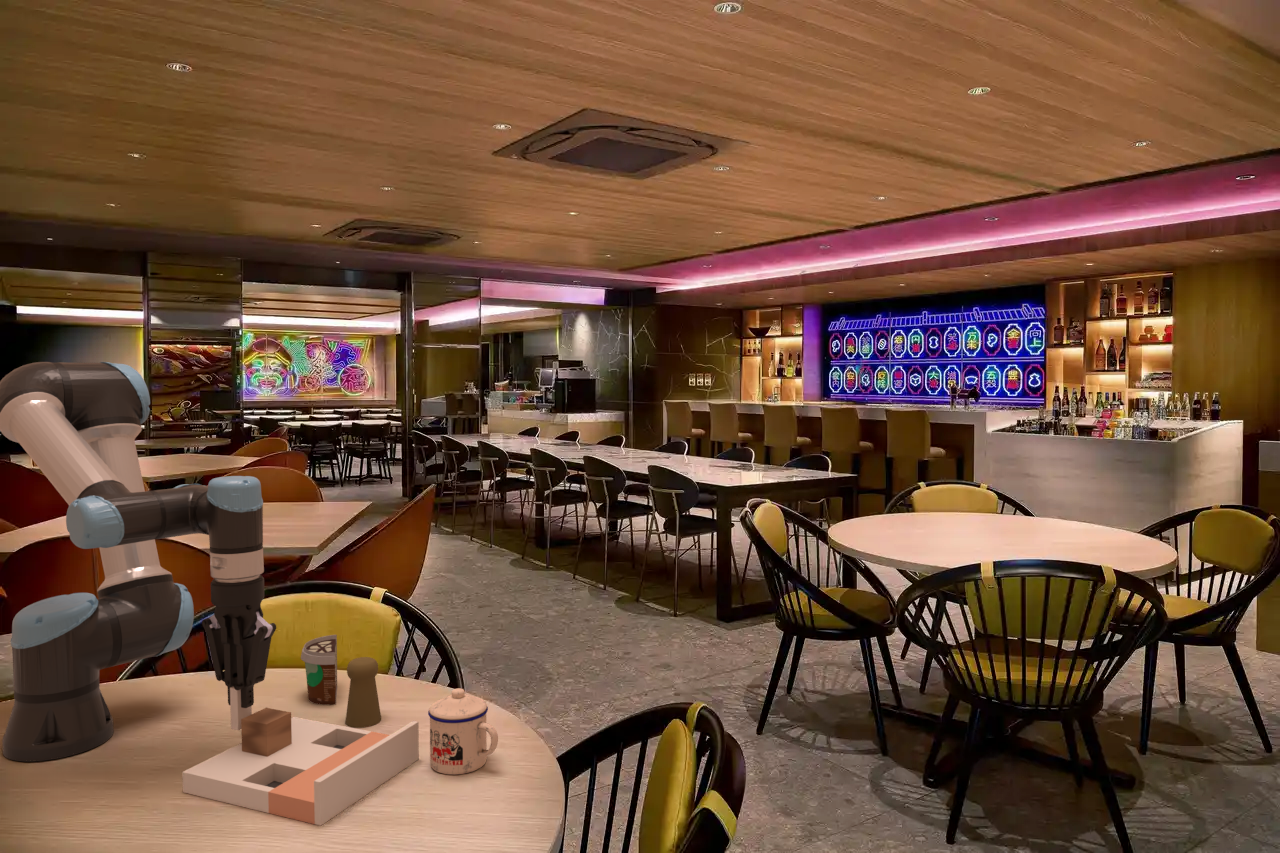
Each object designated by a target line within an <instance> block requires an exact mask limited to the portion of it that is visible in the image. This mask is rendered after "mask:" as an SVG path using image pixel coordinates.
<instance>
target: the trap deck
mask: <svg viewBox="0 0 1280 853" xmlns="http://www.w3.org/2000/svg"><path fill="white" fill-rule="evenodd" d="M419 727H420V726H419V721H416V720H412V721H410V722H409V723H407V724H406V725H403V727H400V728H399V729H398V730H396V731H394V732H393V733H391V734H386V733H381V732H377V731H371V730H365V729H361V728H353V727H349V726H345V725H339V724H335V723H334V724H333V723H328V722H323V721H318V720H314V719H307V718H301V717H297V716H293V717H292V716H291V732H292V744H290V745H288V746H287V747H285V748H283V749H281V750H279V751H277V752H275V753H273V754H272V755H270V756H268V757H266V756H261V755H257V754H252V753H247V752H243V751H242V742H239V743H238V744H236V745H234V746H232V747H230V748H228V749H225V750H224V751H222V752H219V753H218V754H216V755H213V756H212V757H210V758H208V759H206V760H204V761H202V762H200V763H198V764H195V765H193V766H192V767H190V768H187V769H186V770H183V771H181V772H182V774H181V775H182V792H183V793H185V794H189V795H194V796H196V797H197V796H198V797H201V798H206V799H209V800H214V801H218V802H221V803H226V804H229V805H234V806H239V807H244V808H246V809H250V810H254V811H258V812H263V813H268V814H272V815H275V816H279V817H283V818H288V819H291V820H296V821H300V822H303V823H308V824H312V825H316V826H320V827H321V826H323V825H324V824H325V823H327V822H328V821H330V820H332V819H333V818H334V817H335V816H337V815H339V814H340V813H342V812H343V811H345V810H346V809H348V808H349V807H350V806H352V805H353V804H355V803H356V802H358V801H359V800H361V799H362V798H364V797H365V796H366V795H368V794H370V793H371V792H372V791H374V790H375V789H377V788H378V787H380V786H381V785H383V784H384V783H386V782H387V781H389V780H390V779H392V778H393V777H395V776H396V775H397V774H399V773H400V772H402V771H403V770H405V769H407V768H408V767H409V766H411V765H412V764H414V763H415V762H417V761H418V760H419V759H420V751H419V750H420V749H419V748H420V742H419V741H420V740H419V738H420V737H419V733H420V732H419Z"/></svg>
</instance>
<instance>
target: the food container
mask: <svg viewBox="0 0 1280 853" xmlns="http://www.w3.org/2000/svg"><path fill="white" fill-rule="evenodd" d="M337 641H338V639H337V634H330V635H324V636H319V637H316V638H314V639H313V638H312V639H310V640H309V641H307V642H305V644H304V645H303V648H302V650H301V655H300V659H301V660H302V661H303V662H304V664H305V665H304V666H305V667H304V668H305V674H306V675H305V676H306V677H305V678H306V687H307V695H308V696H307V698H308V701H309V702H310V703H312V704H315V705H321V706H322V705H323V706H331V705H332V706H334V705H336V704H337V692H338V642H337Z"/></svg>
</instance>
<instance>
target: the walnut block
mask: <svg viewBox="0 0 1280 853" xmlns="http://www.w3.org/2000/svg"><path fill="white" fill-rule="evenodd" d="M291 718H292V712H291V711H286V710H280V709H274V708H269V707H265V708H264V707H263V708H262V709H260V710H258V711H256V712H253V713H252V714H251V715H249V716H247V717H245V718H243V719H241V729H240V731H241V734H240V735H241V743H242V751H243V752H247V753H252V754H257V755H261V756H266V757H268V756H270V755H272V754H273V753H275V752H277V751H279V750H281V749H283V748H285V747H287V746H288V745H290V744H292V732H291Z"/></svg>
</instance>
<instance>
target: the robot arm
mask: <svg viewBox="0 0 1280 853" xmlns="http://www.w3.org/2000/svg"><path fill="white" fill-rule="evenodd" d="M144 379H145V378H143V376H142V375H141V374H140V372H138V370H136V369H135V368H133V367H132V366H131V365H129V364H126V363H116V362H113V363H112V362H109V361H108V362H107V361H100V362H65V361H64V362H63V361H62V362H51V361H38V362H36V361H35V362H32V363H27V364H23V365H22V366H19V367H17V368H14V369H13V370H12V371H10V372H9V373H7V374H5V375H4V377H2V379H1V380H0V432H1V434H2V435H3V436H4V437H5V438H7V439H8V440H9V441H12V442H15V443H16V444H17V443H18V444H19V445H20V446H21V447H22V449H23V450H24V451H25V452H26V453H27V455H28V456H29V457H30V459H31V460H32V461H33V462H34V463H35V465H36V466H37V467H38V468H39V470H40V471H41V472H42V474H43V475H44V476H45V477H46V479H48V481H49V482H50V484H51V485H52V486H53V487H54V489H55V490H56V491H57V492H58V493H59V495H60V497H62V499H63V500H64V501H65V502H66V503H67V505H68V508H67V509H66V510H67V511H66V515H65V524H66V530H67V532H68V534H69V539H70V541H71V543H72V544H73V545H74V546H76V547H77V548H80V549H83V550H88V549H89V550H90V549H99V553H100V554H99V555H100V558H101V562H102V564H101V565H102V568H103V573H104V581H102V583H101V584H100V586H99V587H98V588H97V590H96V591H97V596H98V598H97V597H96V595H95V594H93V593H90V592H73V593H70V594H61V595H60V594H59V595H55V596H51V597H47V598H44V599H41V600H38V601H36V602H33V603H31V604H29V605H27V606H26V607H23V608H22V609H21V610H19V611H18V612H17V613H16V614H15V616H14V617H13V620H12V624H11V638H10V646H11V651H12V652H11V653H12V673H13V674H12V675H13V676H12V677H13V698H14V699H13V700H14V702H13V707H12V710H11V713H10V716H9V719H8V723H7V726H6V727H5V728H6V729H5V733H4V734H3V736H2V754H3V756H4V757H5V758H6V759H8V760H12V761H17V762H41V761H42V762H43V761H51V760H57V759H62V758H66V757H70V756H76V755H78V754H80V753H84V752H87V751H89V750H92V749H94V748H96V747H99V746H101V745H102V744H104V743H106V742H107V741H108V740H109V739H111V737H112V736H113V734H114V719H113V718H114V717H113V716H112V714H111V711H110V709H109V707H108V705H107V701H106V700H105V698H104V696H103V693H102V691H101V688H100V687H101V686H100V671H101V670H104V669H107V668H113V667H115V666H119V665H120V666H121V665H123V664H127V663H132V662H135V661H140V660H144V659H148V658H152V657H158V656H161V655H162V654H166V653H168V652H172V651H174V650H178V649H179V648H181V647H182V646H183V645H184V644H185V642H186V641H187V640H188V639H189V637H190V633H191V631H192V629H193V624H194V618H195V617H194V616H195V615H194V614H195V613H194V611H195V609H194V602H193V597H192V594H191V593H190V592H189V590H188V588H187V587H186V586H185V585H184V584H182V583H178V582H174V578H173V573H172V571H171V572H170V571H168V570H167V569H165V568H164V567H162V566H161V563H160V559H159V558H160V557H159V554H158V549H157V544H156V540H161V539H169V538H174V537H182V536H186V535H189V536H190V535H193V534H195V535H196V534H200V535H201V534H202V535H207V536H208V537H209V539H208V541H209V558H210V560H209V561H210V564H209V565H210V577H211V578H213V579H212V580H211V582H210V602H211V604H212V605H213V606H215V608H214V610H213V614H212V616H210V617H208V618H205V619H202V621H201V625H202V627H203V629H204V631H205V633H206V635H207V636H206V637H207V640H208V645H209V650H210V656H211V660H212V664H213V670H214V674H215V678H216V680H217V682H221V681H222V682H224V684H225V686H226V687H227V703H228V705H229V706H230V707H229V708H230V729H231V730H234V731H241V719H243V718H245V717H247V716H249V715H251V714H253V712H252V710H253V709H252V706H253V705H254V703H255V699H254V694H255V693H254V692H255V691H254V687H255V686H254V685H257V684H259V683H261V682H263V681H265V677H266V673H267V672H266V671H267V665H268V660H269V655H270V654H269V653H270V649H271V642H272V637H273V635H274V634H275V632H276V630H277V624H276V623H275V622H271V623H269V622H267V620H266V619H264V612H263V609H262V606H261V604H262V602H263V600H264V599H265V577H263V575H262V574H263V573H264V572H265V567H264V565H265V564H264V562H265V560H264V545H263V543H264V521H263V520H264V514H263V513H264V500H263V497H262V485H261V481H260V479H258V477H255V476H251V475H245V476H244V475H231V476H219V477H215V478H212V479H211V480H209V482H208V485H202V484H200V483H191V484H188V483H187V484H183V483H182V484H179V485H177V486H175V487H173V488H167V489H165V488H164V489H156V490H145V484H144V480H143V475H142V470H141V466H140V461H139V456H138V451H137V446H136V442H135V440H136V438H137V437H138V436H139V434H140V433H141V432H142V430H143V429H142V424H144V423H145V422H146V421H147V419H148V418H149V415H150V411H151V409H150V407H149V406H150V405H151V397H150V392H149V388H148V386H147V384H146V381H145V380H144Z"/></svg>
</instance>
